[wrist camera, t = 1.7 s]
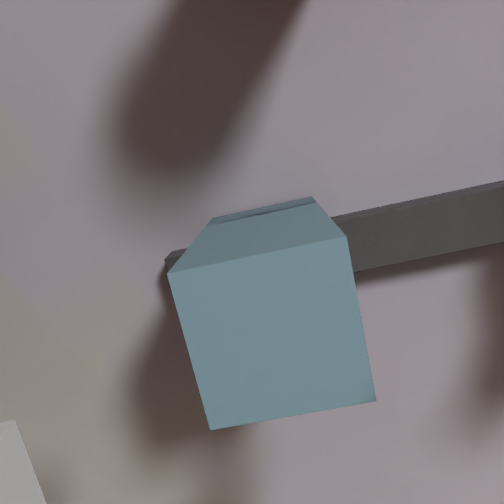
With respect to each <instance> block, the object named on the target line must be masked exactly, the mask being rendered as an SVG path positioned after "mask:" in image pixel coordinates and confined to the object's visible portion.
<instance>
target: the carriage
mask: <svg viewBox="0 0 504 504" xmlns="http://www.w3.org/2000/svg"><path fill="white" fill-rule="evenodd" d="M167 276H168V280H169V284H170V287H171V291H172V294H173V298H174V302H175V305H176V309H177V312H178V316H179V320H180V323H181V327H182V331H183V334H184V338H185V341H186V345H187V349H188V352H189V356H190V359H191V363H192V367H193V370H194V374H195V377H196V381H197V385H198V388H199V392H200V395H201V399H202V403H203V406H204V410H205V413H206V417H207V421H208V424H209V428H210V430H215V429H221V428H226V427H232V426H238V425H244V424H249V423H255V422H261V421H266V420H272V419H278V418H283V417H289V416H295V415H300V414H306V413H312V412H318V411H323V410H329V409H335V408H340V407H346V406H352V405H357V404H363V403H369V402H374V401H376V396H375V391H374V385H373V380H372V374H371V368H370V363H369V357H368V352H367V346H366V341H365V335H364V330H363V324H362V319H361V313H360V308H359V302H358V297H357V291H356V286H355V280H354V275H353V269H352V264H351V258H350V252H349V247H348V241H347V236H346V235H345V234H344V233H343V232H342V230H341V229H340V228H339V227H338V226H337V225H336V224H335V222H334V221H333V220H332V219H331V218H330V217H329V216H328V214H327V213H326V212H325V211H324V210H323V209H322V208H321V207H320V205H319V204H318V203H317V202H316V201H315V200H314V199H313V197H308V198H303V199H299V200H294V201H289V202H285V203H280V204H276V205H271V206H267V207H262V208H257V209H253V210H248V211H244V212H239V213H235V214H230V215H226V216H221V217H216V218H212V220H211V221H210V222H209V223H208V224H207V226H206V227H205V228H204V229H203V231H202V232H201V233H200V234H199V235H198V237H197V238H196V239H195V240H194V241H193V243H192V244H191V245H190V246H189V248H188V249H187V250H186V251H185V252H184V254H183V255H182V256H181V257H180V258H179V260H178V261H177V262H176V263H175V264H174V266H173V267H172V268H171V269H170V271H169V272H168V273H167Z"/></svg>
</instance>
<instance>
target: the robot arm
mask: <svg viewBox="0 0 504 504" xmlns="http://www.w3.org/2000/svg"><path fill="white" fill-rule="evenodd" d="M0 504H46V501H45V498H44V496H43V493H42V490H41V488H40V485H39V483H38V480H37V477H36V475H35V472H34V470H33V467H32V464H31V462H30V459H29V456H28V454H27V451H26V449H25V446H24V443H23V441H22V438H21V436H20V433H19V430H18V428H17V425H16V422H15V420H13V421H7V422H2V423H0Z"/></svg>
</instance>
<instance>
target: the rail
mask: <svg viewBox="0 0 504 504" xmlns="http://www.w3.org/2000/svg"><path fill="white" fill-rule="evenodd" d="M331 219H332V220H333V221H334V222H335V224H336V225H337V226H338V227H339V228H340V229H341V230H342V232H343V233H344V234H345V235H346V236H347V241H348V247H349V252H350V258H351V264H352V269H353V272H357V271H362V270H367V269H372V268H377V267H382V266H387V265H392V264H397V263H402V262H407V261H412V260H417V259H422V258H427V257H432V256H437V255H441V254H446V253H451V252H456V251H461V250H466V249H471V248H476V247H481V246H486V245H491V244H496V243H501V242H504V180H503V181H499V182H494V183H489V184H485V185H480V186H475V187H471V188H466V189H461V190H457V191H452V192H447V193H443V194H438V195H433V196H429V197H424V198H419V199H415V200H410V201H405V202H401V203H396V204H391V205H387V206H382V207H377V208H373V209H368V210H363V211H359V212H354V213H349V214H345V215H340V216H335V217H331ZM187 249H188V248H186V249H181V250H176V251H172V252H171V253H170V254H169V255H168V256H167V257H166V258H165V259H164V260H165V263H166V267H167V271H168V272H169V271H170V269H171V268H172V267H173V266H174V264H175V263H176V262H177V261H178V260H179V258H180V257H181V256H182V255H183V254H184V252H185V251H186V250H187Z"/></svg>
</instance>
